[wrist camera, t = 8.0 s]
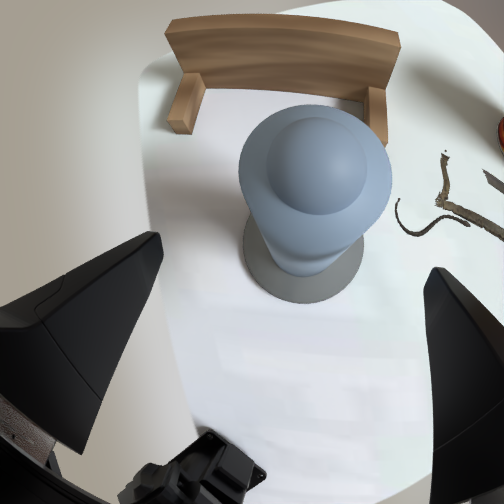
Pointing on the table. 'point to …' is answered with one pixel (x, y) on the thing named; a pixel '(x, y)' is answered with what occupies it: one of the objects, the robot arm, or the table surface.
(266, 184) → the pepper mill
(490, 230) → the hacksaw
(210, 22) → the walnut bench
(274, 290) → the coaster
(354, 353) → the table surface
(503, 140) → the canned food
